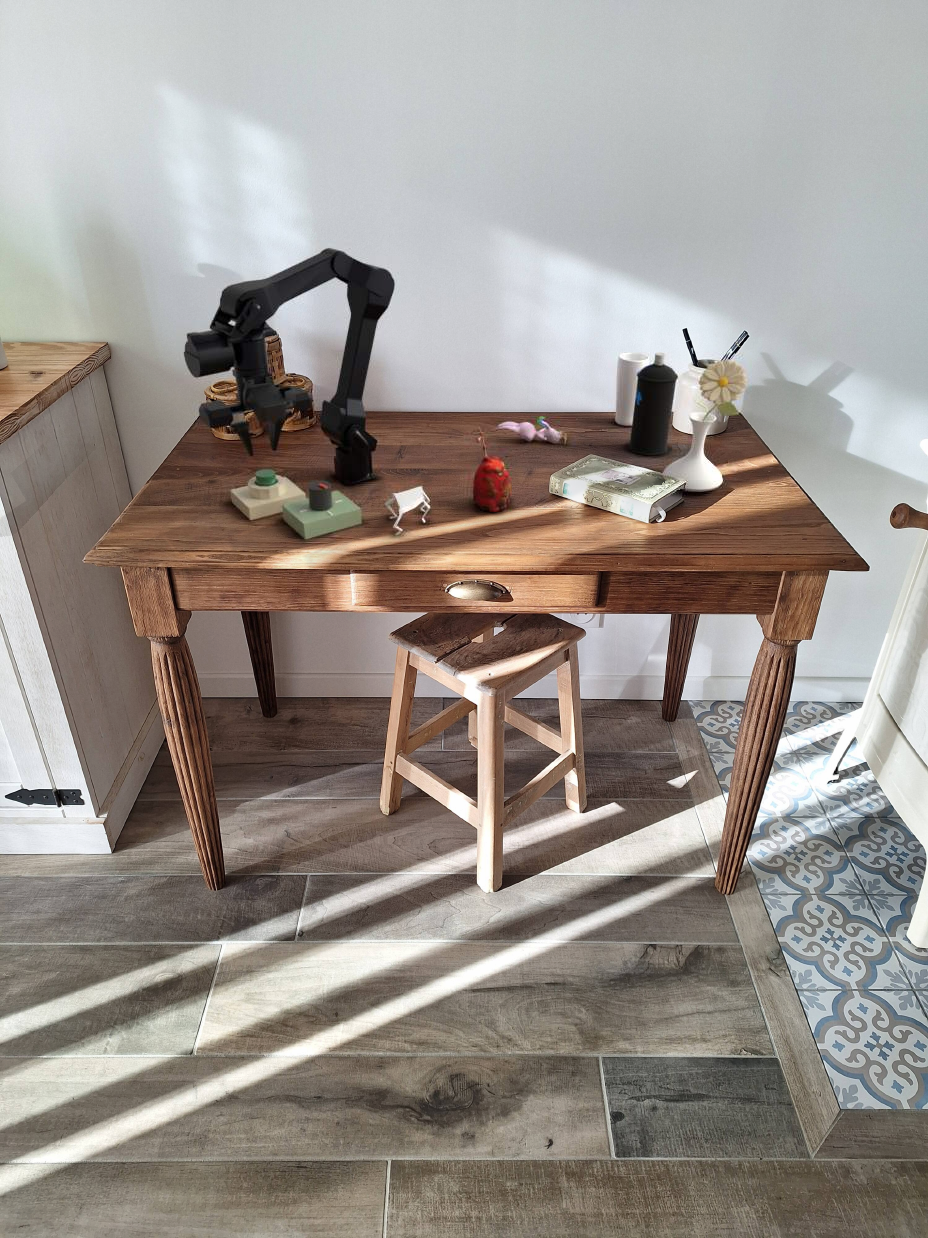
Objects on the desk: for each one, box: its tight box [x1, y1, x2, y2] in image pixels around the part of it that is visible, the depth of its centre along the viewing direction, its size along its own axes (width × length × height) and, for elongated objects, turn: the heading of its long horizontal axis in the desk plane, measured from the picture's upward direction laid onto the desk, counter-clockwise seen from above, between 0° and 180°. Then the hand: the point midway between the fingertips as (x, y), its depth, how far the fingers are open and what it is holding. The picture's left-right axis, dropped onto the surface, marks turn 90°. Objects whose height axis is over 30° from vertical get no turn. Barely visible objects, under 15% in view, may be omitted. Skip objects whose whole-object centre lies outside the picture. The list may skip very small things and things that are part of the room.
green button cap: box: [254, 468, 277, 486], centre depth 154 cm, size 4×4×2 cm
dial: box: [307, 480, 333, 511], centre depth 148 cm, size 4×4×4 cm
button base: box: [229, 474, 307, 521], centre depth 156 cm, size 11×9×4 cm
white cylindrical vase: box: [614, 352, 650, 427], centre depth 190 cm, size 7×7×15 cm
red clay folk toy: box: [472, 426, 512, 513], centre depth 153 cm, size 8×7×15 cm
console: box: [282, 490, 363, 540], centre depth 150 cm, size 11×9×3 cm
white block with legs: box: [384, 485, 431, 536], centre depth 149 cm, size 12×8×5 cm
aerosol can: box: [627, 352, 679, 457], centre depth 175 cm, size 8×8×20 cm
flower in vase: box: [662, 358, 748, 493], centre depth 158 cm, size 13×11×25 cm
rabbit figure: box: [497, 416, 568, 445], centre depth 182 cm, size 6×6×15 cm
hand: (262, 452), depth 152 cm, fingers open, 4 cm apart
